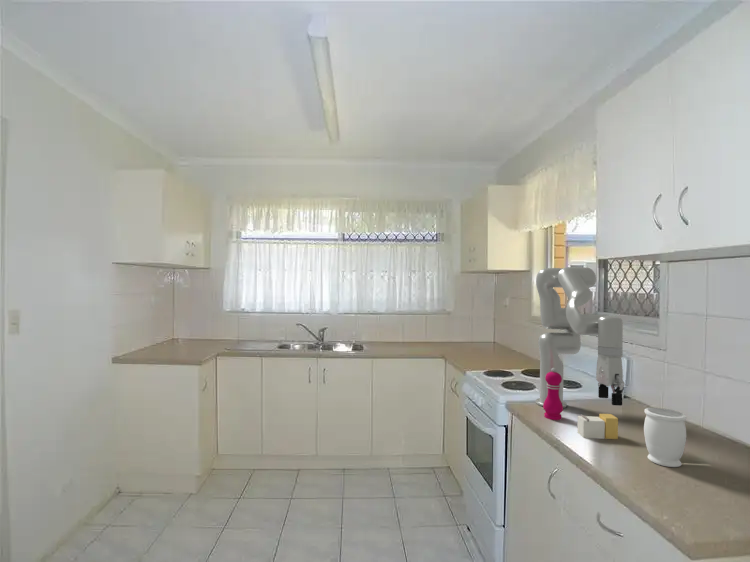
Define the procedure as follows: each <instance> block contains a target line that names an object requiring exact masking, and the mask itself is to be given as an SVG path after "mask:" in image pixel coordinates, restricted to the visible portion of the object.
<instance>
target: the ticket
mask: <svg viewBox="0 0 750 562" xmlns="http://www.w3.org/2000/svg"><path fill="white" fill-rule="evenodd" d="M577 434H579V435H580V437H582V438H583V439H602V440H603V439H604V440H605V438H604V436H605V421H604V420H602V419H601V418H599V416H591V415H589V416H588V415H584V414H580V415H577Z"/></svg>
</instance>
